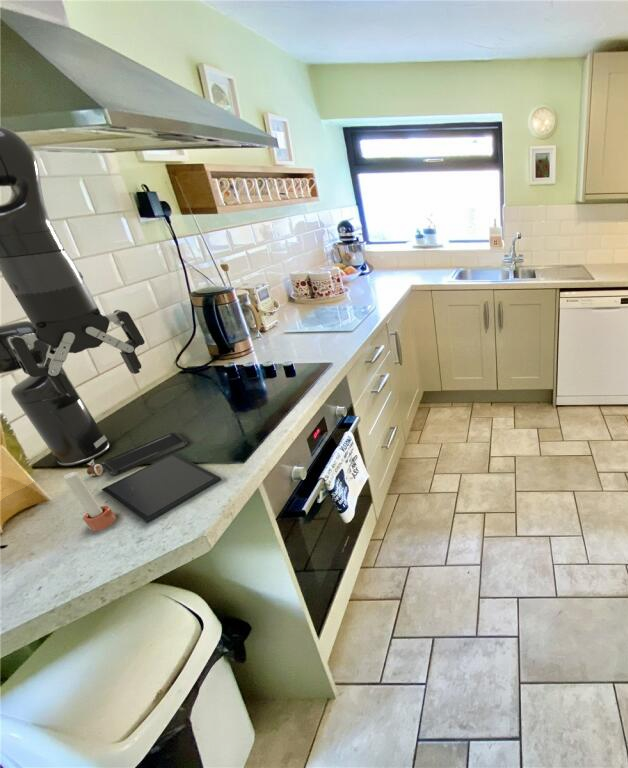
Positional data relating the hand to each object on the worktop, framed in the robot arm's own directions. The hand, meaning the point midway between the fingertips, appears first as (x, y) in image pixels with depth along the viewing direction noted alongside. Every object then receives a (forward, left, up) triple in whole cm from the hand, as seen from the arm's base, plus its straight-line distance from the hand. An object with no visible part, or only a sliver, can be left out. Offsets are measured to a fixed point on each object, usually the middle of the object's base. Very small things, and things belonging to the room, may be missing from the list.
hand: (104, 383), depth 68 cm
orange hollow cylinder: (-11, -8, -29) cm, 32 cm away
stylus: (-11, -8, -29) cm, 32 cm away
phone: (-30, +7, -29) cm, 42 cm away
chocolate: (-32, -2, -30) cm, 44 cm away
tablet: (-13, +3, -29) cm, 32 cm away
